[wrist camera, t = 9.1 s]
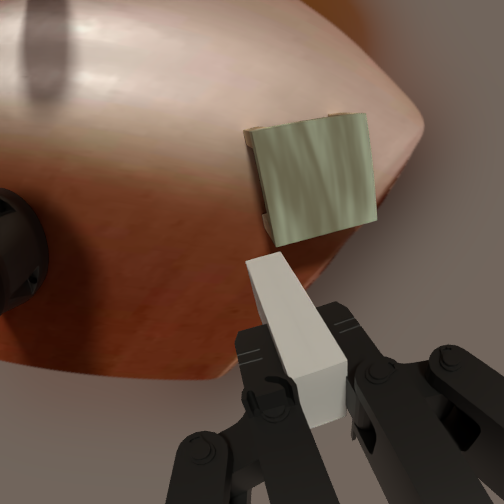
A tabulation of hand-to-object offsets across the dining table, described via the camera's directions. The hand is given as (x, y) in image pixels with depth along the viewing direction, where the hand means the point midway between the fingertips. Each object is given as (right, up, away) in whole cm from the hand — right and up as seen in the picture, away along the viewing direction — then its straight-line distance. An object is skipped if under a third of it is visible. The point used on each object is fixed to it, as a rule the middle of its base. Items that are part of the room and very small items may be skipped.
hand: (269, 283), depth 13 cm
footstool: (0, +8, +16) cm, 18 cm away
